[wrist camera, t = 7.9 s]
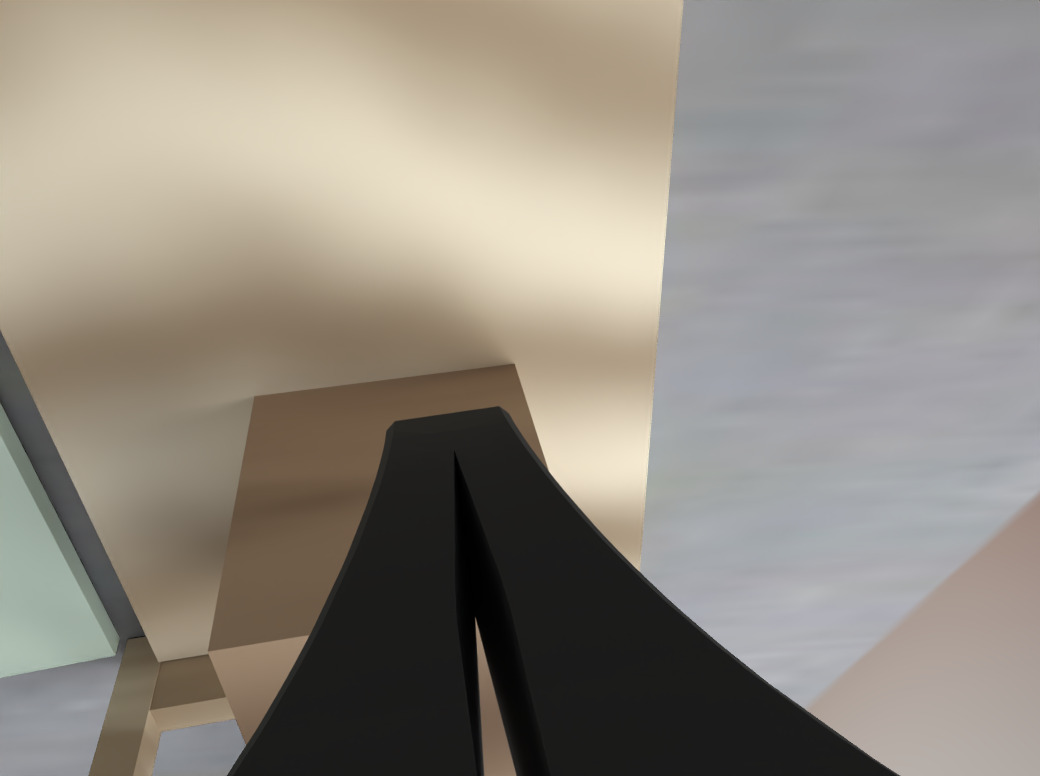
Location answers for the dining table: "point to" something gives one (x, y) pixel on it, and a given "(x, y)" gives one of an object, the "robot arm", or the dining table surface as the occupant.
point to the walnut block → (326, 524)
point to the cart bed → (319, 256)
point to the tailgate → (42, 577)
